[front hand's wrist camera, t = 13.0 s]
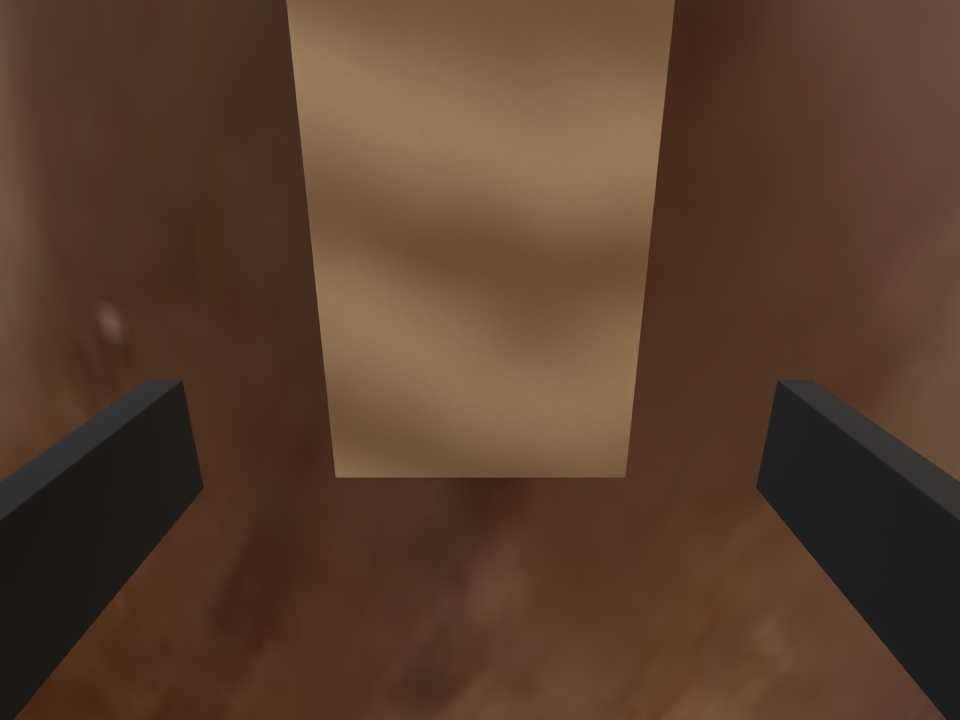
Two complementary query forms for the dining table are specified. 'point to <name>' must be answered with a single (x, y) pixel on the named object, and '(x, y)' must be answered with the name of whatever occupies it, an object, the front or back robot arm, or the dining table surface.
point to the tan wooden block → (480, 227)
